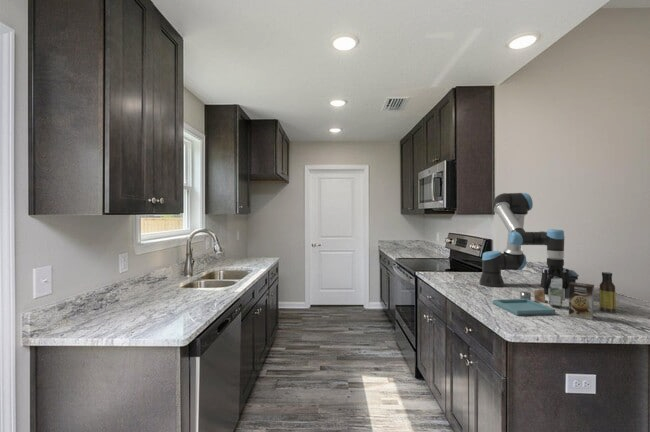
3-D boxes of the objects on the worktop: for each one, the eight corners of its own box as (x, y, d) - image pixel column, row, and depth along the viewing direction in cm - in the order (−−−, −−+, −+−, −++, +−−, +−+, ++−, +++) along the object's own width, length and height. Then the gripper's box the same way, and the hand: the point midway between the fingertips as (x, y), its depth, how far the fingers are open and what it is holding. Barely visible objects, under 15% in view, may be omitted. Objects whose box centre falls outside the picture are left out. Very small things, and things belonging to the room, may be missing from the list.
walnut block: (534, 300, 185) (534, 290, 185) (541, 299, 187) (541, 289, 187) (544, 303, 179) (544, 292, 179) (552, 302, 181) (552, 291, 181)
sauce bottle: (607, 309, 168) (607, 271, 167) (619, 312, 161) (619, 273, 161) (596, 309, 167) (596, 271, 167) (607, 313, 161) (607, 273, 161)
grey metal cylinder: (518, 300, 185) (518, 291, 185) (526, 299, 186) (526, 291, 186) (524, 302, 180) (524, 293, 180) (532, 302, 181) (532, 293, 181)
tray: (492, 304, 178) (492, 299, 178) (527, 303, 179) (527, 298, 179) (517, 315, 158) (517, 310, 158) (555, 314, 159) (555, 309, 159)
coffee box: (568, 316, 157) (568, 283, 157) (570, 313, 161) (570, 281, 161) (592, 320, 150) (592, 286, 150) (594, 317, 155) (594, 284, 155)
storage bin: (580, 300, 183) (580, 276, 183) (547, 297, 191) (548, 273, 191) (572, 292, 202) (573, 269, 202) (543, 289, 209) (543, 268, 209)
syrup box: (560, 303, 173) (560, 277, 173) (562, 306, 168) (562, 279, 168) (547, 302, 176) (548, 276, 176) (548, 305, 171) (549, 278, 171)
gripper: (542, 259, 167) (542, 302, 168) (579, 258, 168) (578, 301, 169) (532, 257, 174) (531, 298, 175) (567, 256, 176) (566, 297, 177)
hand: (554, 300), depth 172 cm, fingers closed on syrup box, 8 cm apart
